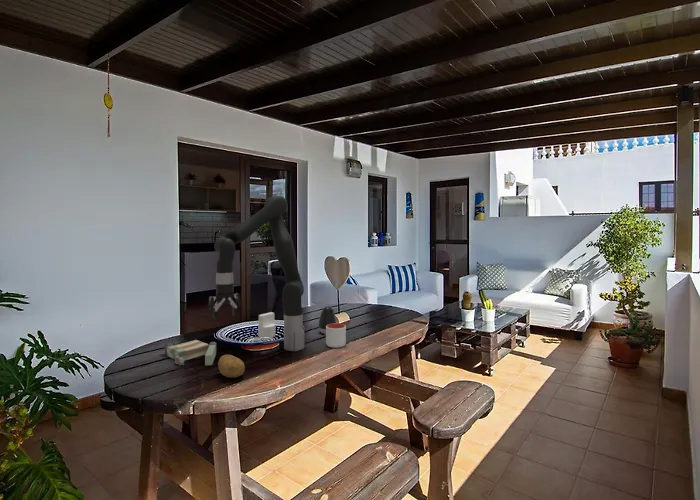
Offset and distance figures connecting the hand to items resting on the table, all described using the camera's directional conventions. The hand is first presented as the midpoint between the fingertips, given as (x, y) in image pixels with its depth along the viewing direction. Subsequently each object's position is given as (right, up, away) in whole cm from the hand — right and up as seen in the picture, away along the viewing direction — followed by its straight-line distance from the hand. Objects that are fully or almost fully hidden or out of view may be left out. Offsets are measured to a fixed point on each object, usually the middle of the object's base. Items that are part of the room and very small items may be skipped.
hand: (225, 317), depth 182 cm
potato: (+9, -21, -19) cm, 29 cm away
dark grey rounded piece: (+44, -16, +42) cm, 63 cm away
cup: (+50, -18, +22) cm, 57 cm away
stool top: (-19, -18, +5) cm, 27 cm away
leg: (-7, -19, +1) cm, 20 cm away
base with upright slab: (+11, -16, +36) cm, 41 cm away
